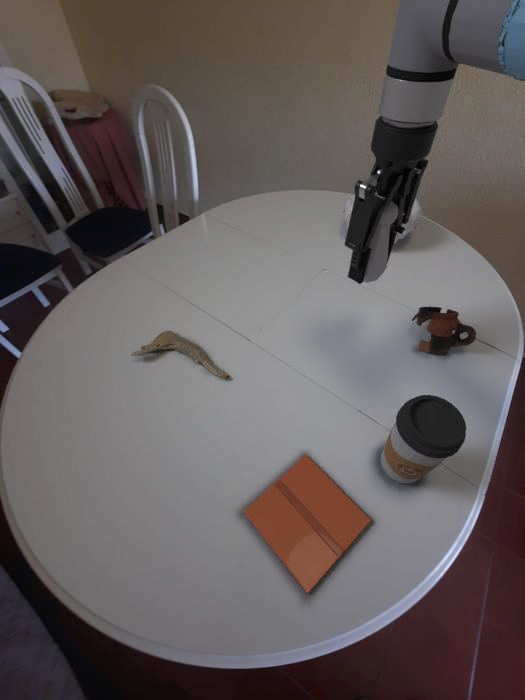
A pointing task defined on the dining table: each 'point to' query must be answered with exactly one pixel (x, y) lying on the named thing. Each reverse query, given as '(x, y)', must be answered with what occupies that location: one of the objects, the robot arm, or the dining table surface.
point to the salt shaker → (380, 244)
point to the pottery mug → (443, 330)
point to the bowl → (413, 217)
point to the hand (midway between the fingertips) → (367, 271)
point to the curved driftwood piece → (182, 345)
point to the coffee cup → (422, 438)
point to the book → (307, 521)
